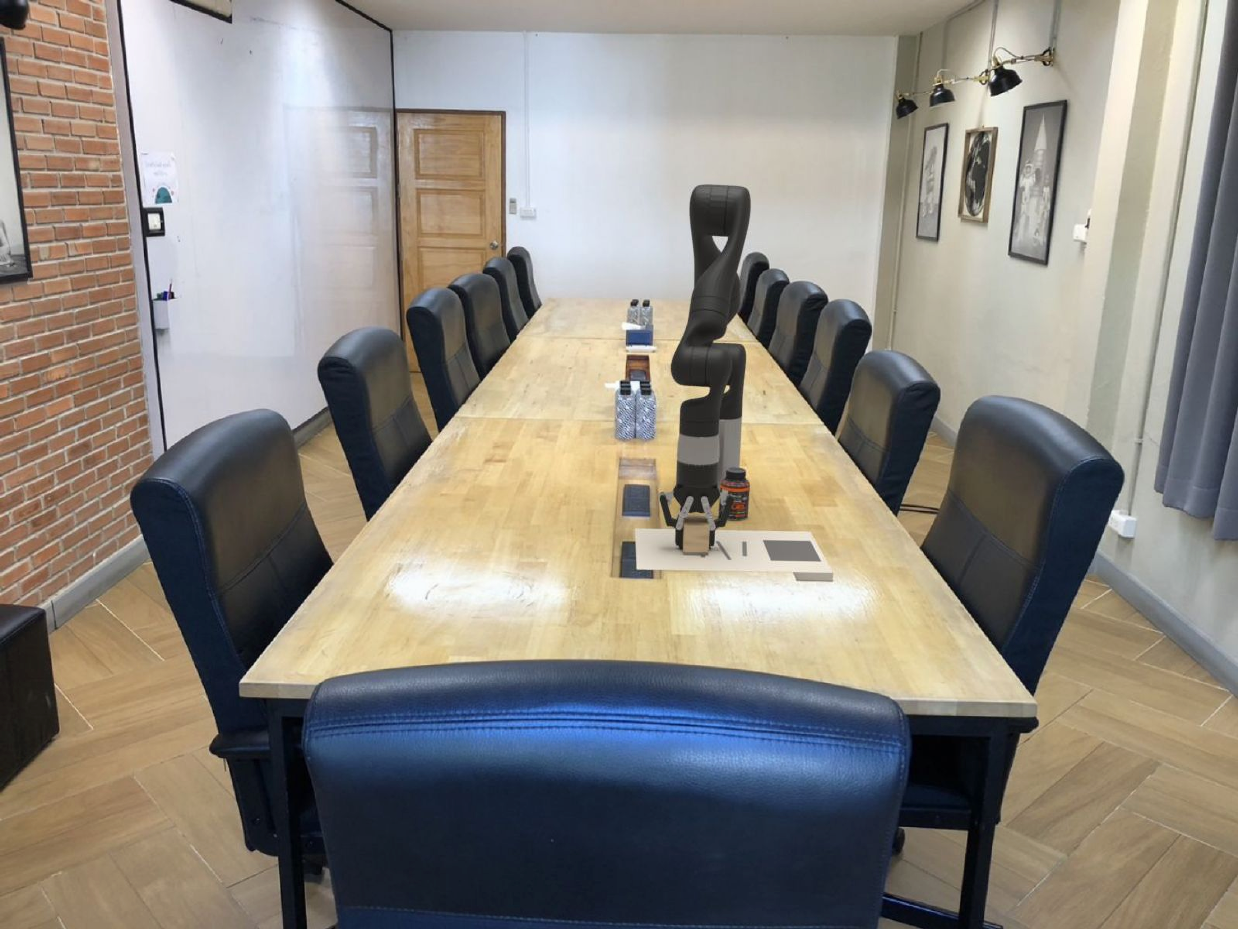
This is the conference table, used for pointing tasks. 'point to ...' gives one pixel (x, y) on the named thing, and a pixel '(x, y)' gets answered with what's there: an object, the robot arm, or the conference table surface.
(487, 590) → the conference table surface
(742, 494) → the supplement bottle
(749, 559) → the board
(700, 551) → the block
